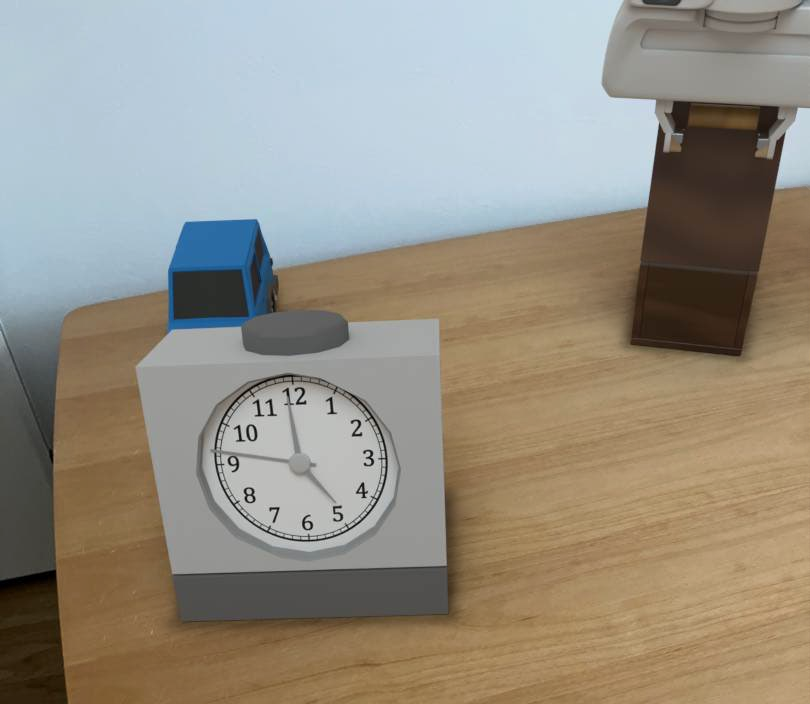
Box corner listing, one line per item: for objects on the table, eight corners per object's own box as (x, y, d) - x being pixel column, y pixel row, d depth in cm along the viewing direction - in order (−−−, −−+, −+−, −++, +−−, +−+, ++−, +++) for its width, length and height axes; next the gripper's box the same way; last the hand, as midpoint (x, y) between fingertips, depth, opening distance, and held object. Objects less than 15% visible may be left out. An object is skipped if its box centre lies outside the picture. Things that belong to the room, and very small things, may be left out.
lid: (665, 79, 87) (661, 84, 83) (794, 85, 84) (797, 90, 80) (640, 259, 94) (636, 271, 90) (758, 269, 92) (759, 283, 88)
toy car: (162, 407, 97) (138, 317, 90) (197, 302, 111) (178, 216, 104) (258, 405, 97) (241, 314, 90) (281, 299, 110) (267, 213, 103)
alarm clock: (180, 621, 77) (113, 408, 63) (211, 485, 88) (159, 278, 74) (448, 613, 76) (440, 395, 62) (444, 477, 88) (437, 266, 73)
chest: (646, 271, 110) (656, 194, 104) (746, 280, 108) (762, 202, 102) (630, 344, 100) (639, 264, 94) (740, 356, 98) (757, 275, 92)
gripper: (894, -38, 75) (847, 145, 85) (617, -44, 80) (602, 130, 89) (900, -12, 71) (849, 178, 80) (607, -20, 75) (592, 160, 85)
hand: (717, 153), depth 85 cm, fingers open, 6 cm apart
